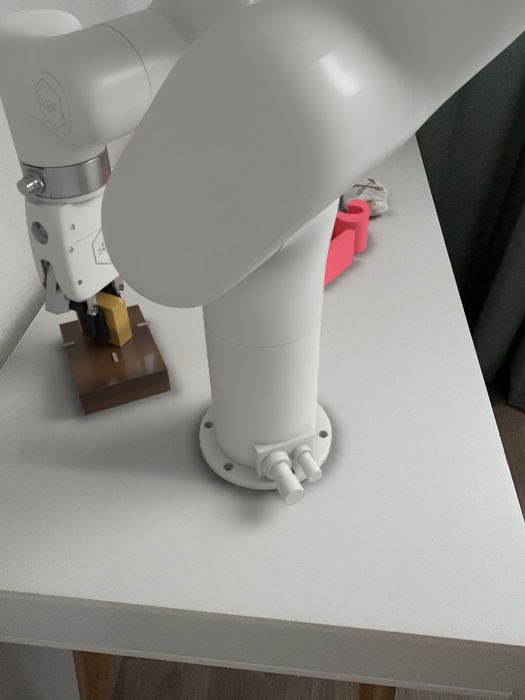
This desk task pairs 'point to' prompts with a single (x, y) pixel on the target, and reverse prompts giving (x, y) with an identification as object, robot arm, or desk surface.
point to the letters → (347, 238)
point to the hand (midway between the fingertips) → (105, 329)
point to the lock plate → (115, 365)
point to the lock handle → (114, 317)
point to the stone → (368, 196)
